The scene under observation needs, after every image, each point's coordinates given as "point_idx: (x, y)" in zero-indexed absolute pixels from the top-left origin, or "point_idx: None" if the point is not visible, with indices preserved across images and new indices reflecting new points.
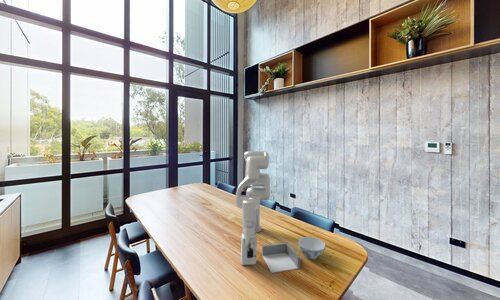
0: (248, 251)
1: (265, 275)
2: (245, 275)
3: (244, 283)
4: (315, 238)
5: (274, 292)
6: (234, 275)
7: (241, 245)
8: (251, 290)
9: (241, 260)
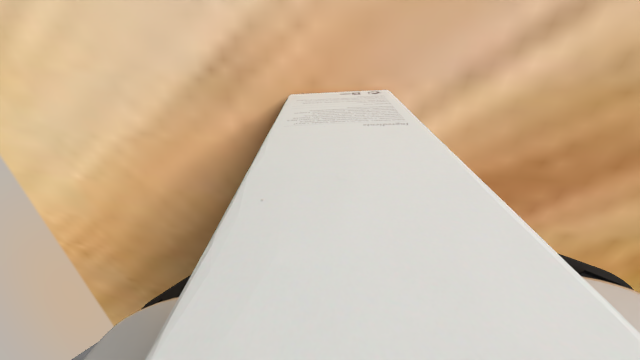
0: None
1: (198, 238)
2: (166, 120)
3: (76, 107)
4: None
5: (83, 253)
6: (138, 14)
7: (390, 162)
8: (35, 150)
9: (301, 100)
